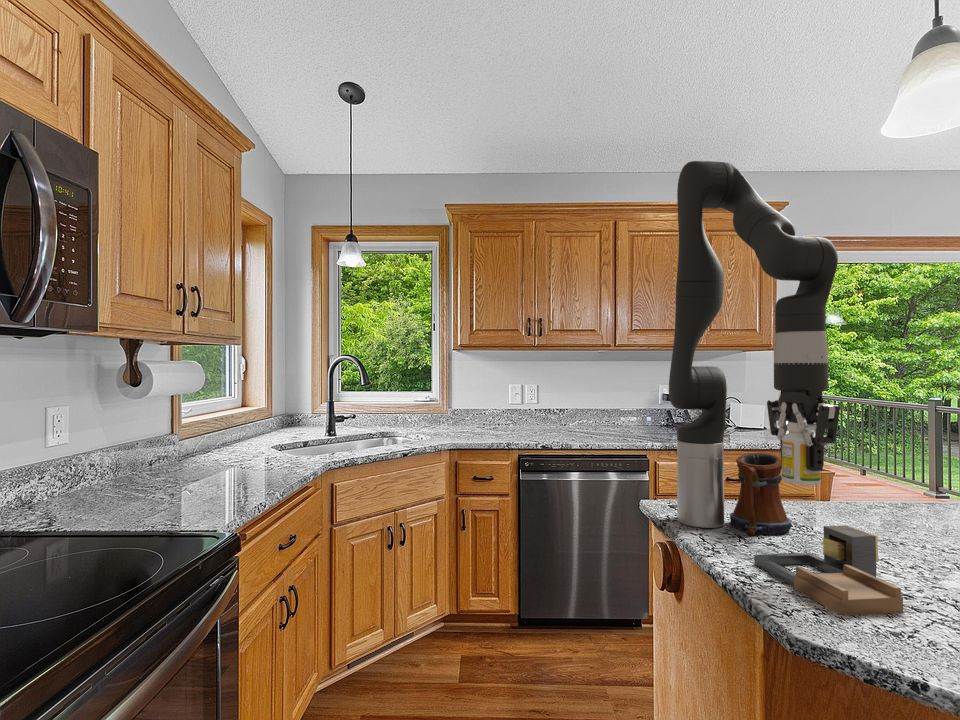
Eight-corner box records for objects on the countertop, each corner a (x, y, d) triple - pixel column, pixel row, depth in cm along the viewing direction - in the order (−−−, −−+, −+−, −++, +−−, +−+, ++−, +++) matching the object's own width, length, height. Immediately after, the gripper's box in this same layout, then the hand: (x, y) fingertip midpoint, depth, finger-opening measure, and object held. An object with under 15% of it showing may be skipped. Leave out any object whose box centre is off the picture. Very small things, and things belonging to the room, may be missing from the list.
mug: (778, 547, 100) (777, 465, 100) (712, 536, 107) (712, 459, 108) (796, 526, 114) (795, 454, 114) (737, 517, 121) (736, 449, 121)
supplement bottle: (778, 482, 87) (777, 422, 87) (787, 477, 91) (786, 420, 91) (816, 487, 84) (816, 424, 84) (824, 482, 88) (824, 422, 88)
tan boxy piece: (818, 552, 90) (818, 528, 90) (853, 551, 91) (852, 527, 91) (842, 563, 85) (841, 537, 85) (878, 561, 86) (877, 536, 86)
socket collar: (754, 564, 91) (754, 554, 91) (810, 561, 92) (809, 552, 92) (795, 587, 81) (794, 577, 81) (857, 584, 82) (856, 574, 83)
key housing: (824, 565, 91) (823, 526, 91) (846, 564, 91) (845, 525, 91) (852, 579, 85) (851, 536, 85) (876, 578, 85) (875, 535, 85)
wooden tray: (794, 588, 81) (794, 566, 81) (850, 586, 82) (850, 564, 82) (840, 615, 72) (840, 590, 72) (903, 612, 73) (902, 588, 73)
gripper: (857, 360, 81) (858, 475, 81) (791, 361, 95) (792, 459, 95) (810, 360, 80) (811, 476, 80) (751, 361, 94) (751, 459, 94)
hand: (801, 466), depth 87 cm, fingers closed on supplement bottle, 5 cm apart
